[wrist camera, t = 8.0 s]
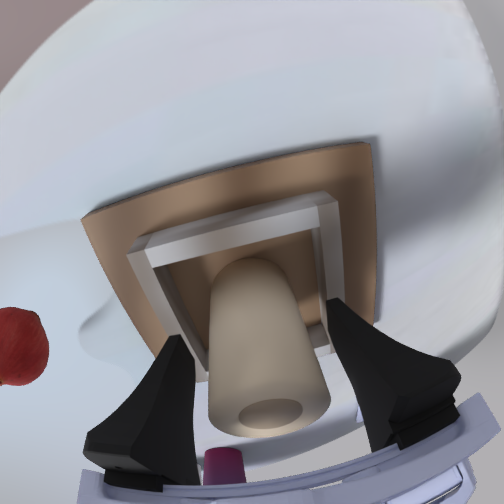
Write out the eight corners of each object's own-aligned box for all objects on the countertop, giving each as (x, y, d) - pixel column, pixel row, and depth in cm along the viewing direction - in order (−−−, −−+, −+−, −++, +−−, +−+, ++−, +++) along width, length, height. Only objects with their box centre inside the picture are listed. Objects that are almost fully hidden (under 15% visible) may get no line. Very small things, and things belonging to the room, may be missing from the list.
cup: (200, 443, 28) (203, 547, 14) (253, 446, 29) (266, 545, 16) (196, 458, 30) (198, 546, 17) (242, 461, 32) (251, 546, 18)
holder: (361, 141, 13) (390, 149, 11) (367, 327, 20) (382, 353, 17) (87, 213, 14) (63, 234, 11) (173, 371, 20) (169, 401, 18)
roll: (283, 249, 15) (332, 367, 8) (293, 312, 17) (329, 424, 10) (200, 268, 15) (189, 395, 8) (222, 328, 17) (227, 444, 10)
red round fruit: (59, 350, 19) (28, 420, 12) (11, 318, 17) (-28, 379, 10) (67, 311, 17) (24, 393, 10) (12, 273, 15) (-42, 340, 8)
